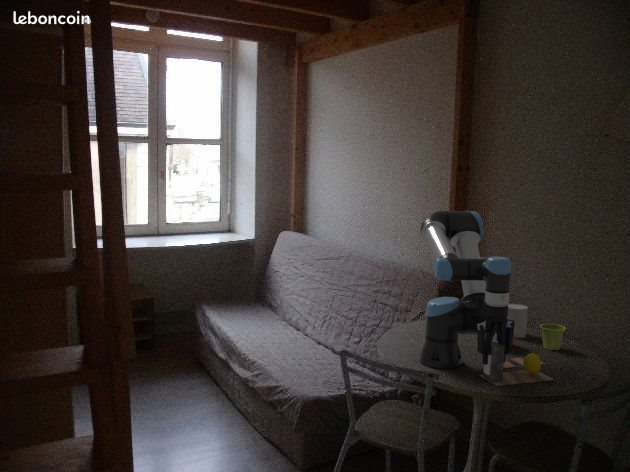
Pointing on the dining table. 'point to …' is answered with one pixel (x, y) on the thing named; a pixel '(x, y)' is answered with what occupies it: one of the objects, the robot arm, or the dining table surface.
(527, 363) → the lemon
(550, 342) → the plant pot
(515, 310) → the white cylinder
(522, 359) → the brown wooden plank
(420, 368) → the dining table surface
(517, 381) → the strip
